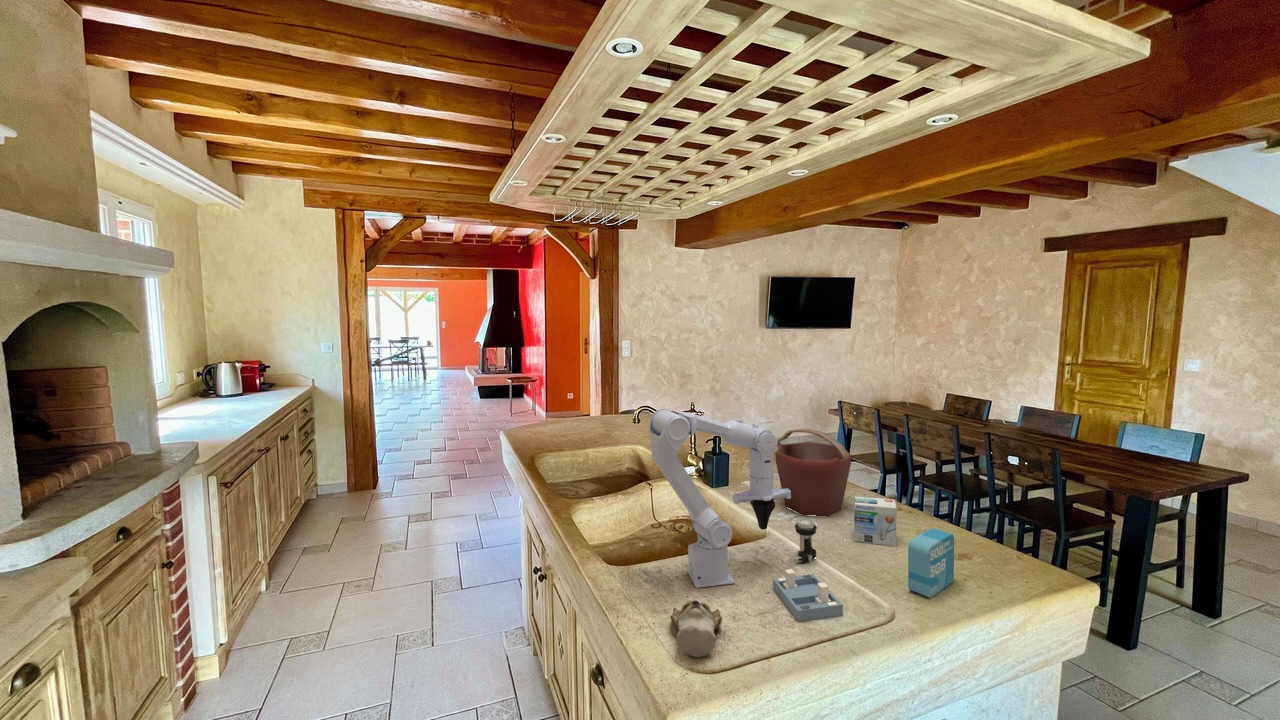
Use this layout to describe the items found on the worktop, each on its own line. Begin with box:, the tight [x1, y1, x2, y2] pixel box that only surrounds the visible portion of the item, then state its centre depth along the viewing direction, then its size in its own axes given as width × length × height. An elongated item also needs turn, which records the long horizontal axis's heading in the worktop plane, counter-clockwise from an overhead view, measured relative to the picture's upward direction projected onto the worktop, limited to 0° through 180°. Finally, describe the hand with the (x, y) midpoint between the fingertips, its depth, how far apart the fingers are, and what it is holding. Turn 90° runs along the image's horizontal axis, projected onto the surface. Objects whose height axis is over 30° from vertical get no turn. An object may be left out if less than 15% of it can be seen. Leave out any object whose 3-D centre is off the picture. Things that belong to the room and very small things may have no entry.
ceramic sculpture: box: [670, 600, 723, 658], centre depth 103 cm, size 11×9×15 cm
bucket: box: [775, 428, 852, 518], centre depth 167 cm, size 24×22×25 cm
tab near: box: [815, 582, 831, 604], centre depth 111 cm, size 3×2×4 cm
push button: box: [794, 519, 818, 564], centre depth 133 cm, size 7×5×10 cm
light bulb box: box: [853, 495, 898, 547], centre depth 143 cm, size 11×7×11 cm, turn 68°
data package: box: [907, 527, 955, 599], centre depth 118 cm, size 12×4×12 cm, turn 125°
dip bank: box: [772, 573, 844, 623], centre depth 115 cm, size 10×13×2 cm
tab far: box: [783, 568, 798, 589], centre depth 118 cm, size 3×2×4 cm
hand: (762, 527), depth 131 cm, fingers closed
